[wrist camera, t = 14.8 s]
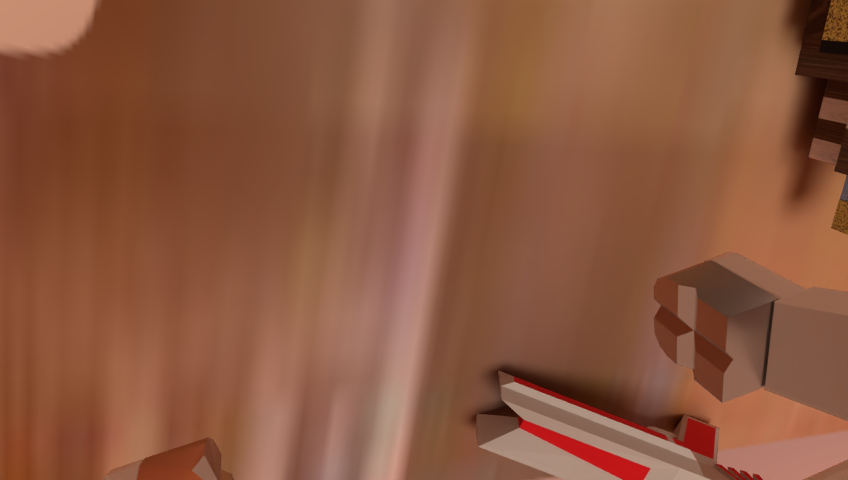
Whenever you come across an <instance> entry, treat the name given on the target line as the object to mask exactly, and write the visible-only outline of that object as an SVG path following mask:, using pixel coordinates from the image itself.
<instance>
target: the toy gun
mask: <svg viewBox="0 0 848 480" xmlns="http://www.w3.org/2000/svg"><path fill="white" fill-rule="evenodd" d="M498 375H499V383H500V391H501V399H502V400H503V401H504V402H505V403H506V404H507V405H508V406H509V407H510V408H512V409H513V410H514V411H515V412H516V413H517V414H518V415H519V416H518V417H509V416H498V415H487V414H477V419H476V435H477V442H478V447H480V448H483V449H486V450H488V451H491V452H494V453H496V454H499V455H502V456H504V457H507V458H509V459H512V460H515V461H517V462H520V463H523V464H525V465H528V466H531V467H533V468H536V469H539V470H541V471H544V472H546V473H549V474H552V475H554V476H557V477H560V478H562V479H565V480H762V478H761V477H760V476H759V475H756V474H753V478H752V477H751V476H750V475H749V474H748V473H747V472H745V471H742V470H740V474H739V473H738V472H737V471H736V470H735V469H734V468H730V467H728V470H727V469H726V468H724V467H723V466H722V465H719V464H717V452H718V437H719V428H718V427H715V426H713V425H710V424H708V423H705V422H703V421H700V420H697V419H695V418H692V417H690V416H687V415H683V417H682V418H681V420H680V422H679V423H678V425H677V427H676V428H675V430H674V433H671V432H668V431H665V430H663V429H660V428H657V427H651V426H648V427H647V428H646V427H644V426H641V425H638V424H636V423H633V422H631V421H628V420H625V419H623V418H620V417H618V416H615V415H612V414H610V413H607V412H605V411H602V410H599V409H597V408H594V407H592V406H589V405H587V404H584V403H581V402H579V401H576V400H574V399H571V398H568V397H566V396H563V395H561V394H558V393H555V392H553V391H550V390H548V389H545V388H542V387H540V386H537V385H535V384H532V383H530V382H527V381H524V380H522V379H519V378H517V377H514V376H512V375H509V374H507V373H504V372H502V371H498Z"/></svg>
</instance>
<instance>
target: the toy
mask: <svg viewBox="0 0 848 480" xmlns="http://www.w3.org/2000/svg"><path fill="white" fill-rule="evenodd" d="M795 75H802V76H809V77H816V78H822V79H828V81H827V85H826V89H825V93H824V97H823V101H822V105H821V109H820V113H819V117H818V121H817V125H816V129H815V133H814V137H813V141H812V145H811V149H810V153H809V158H813V159H816V160H820V161H823V162H827V163H830V164H833V165H836V167H835V170H834V171H836V172H839V173H843V174H846V175H847V177H846V180H845V184H844V187H843V191H842V194H841V198H840V200H839V202H838V206H837V209H836V213H835V216H834V220H833V223H832V227H831V228H832V229H835V230H837V231H840V232H842V233H845V234H847V235H848V0H812V2H811V6H810V11H809V15H808V20H807V24H806V28H805V33H804V37H803V42H802V46H801V51H800V55H799V60H798V64H797V68H796V73H795Z"/></svg>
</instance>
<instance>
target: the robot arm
mask: <svg viewBox="0 0 848 480" xmlns="http://www.w3.org/2000/svg"><path fill="white" fill-rule="evenodd" d="M654 299H655V300H656V301H657V302H658V303H659V304H660V305H661V307H660V308H659V310H658V312H657V314H656V315H655V317H654V329H655V335H656V337H657V340H658V342H659V345H660V347H661V348H662V350H663V351H664V352H665V354H666V355H667V356H668V357H669V358H670V359H671V360H672V361H673V362H674V363H676V364H677V365H680V366H683V367H687V368H690V369H693V373H694V380H695V381H697V382H698V383H699V384H700V385H701V386H703V387H704V388H705V389H706V390H707V391H708V392H710V393H711V394H712V395H713V396H714V397H716V398H717V399H718V400H719V401H720V402H722V403H724V402H726V401H729V400H732V399H734V398H737V397H740V396H742V395H745V394H748V393H750V392H753V391H756V390H758V389H761V388H764V387H765V390H767V391H769V392H772V393H775V394H777V395H780V396H783V397H785V398H788V399H790V400H793V401H796V402H798V403H801V404H804V405H806V406H809V407H812V408H814V409H817V410H820V411H822V412H825V413H828V414H830V415H833V416H836V417H838V418H841V419H844V420H846V421H848V292H845V291H838V290H832V289H825V288H819V287H812V288H809V289H805V288H803V287H801V286H799V285H797V284H795V283H793V282H791V281H790V280H788V279H786V278H784V277H782V276H780V275H778V274H776V273H774V272H772V271H770V270H768V269H766V268H765V267H763V266H761V265H759V264H757V263H755V262H753V261H751V260H749V259H747V258H745V257H743V256H741V255H739V254H738V253H731V252H727V253H724V254H722V255H719V256H716V257H714V258H711V259H708V260H706V261H704V262H703V263H700V264H697V265H694V266H692V267H689V268H686V269H683V270H680V271H678V272H675V273H672V274H669V275H667V276H664V277H661V278H658V279H657V281H656V283H655V286H654ZM104 480H234V479H233V477H232V474H231V473H229V472H226V471H224V470H222V469H221V453H220V451H219V449H218V447H217V445H216V444H215V442H214V440H213V439H211V438H209V437H208V438H205V439H202V440H199V441H195V442H192V443H189V444H186V445H183V446H180V447H177V448H174V449H171V450H168V451H165V452H162V453H159V454H156V455H153V456H150V457H147V458H145V459H144V460H139V461H136V462H133V463H130V464H127V465H124V466H121V467H119V468H116V469H113V470H111V471H110V472H109V473H108V474H107V475H106V477H105V479H104ZM804 480H848V460H846V461H844V462H841V463H839V464H837V465H835V466H832V467H830V468H828V469H826V470H824V471H822V472H819V473H817V474H815V475H813V476H810V477H808V478H806V479H804Z"/></svg>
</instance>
